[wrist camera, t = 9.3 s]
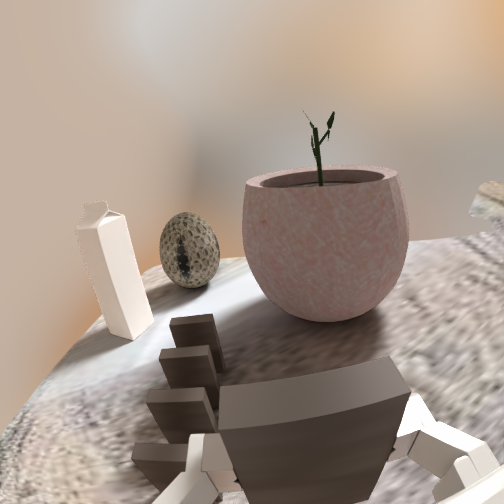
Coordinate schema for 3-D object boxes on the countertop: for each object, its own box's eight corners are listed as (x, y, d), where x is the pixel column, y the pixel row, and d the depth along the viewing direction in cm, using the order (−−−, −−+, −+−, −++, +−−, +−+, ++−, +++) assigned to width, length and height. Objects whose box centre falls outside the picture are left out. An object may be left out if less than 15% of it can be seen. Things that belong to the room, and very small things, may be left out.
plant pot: (228, 340, 42) (186, 119, 32) (283, 270, 62) (265, 119, 52) (401, 362, 32) (410, 91, 21) (402, 276, 52) (398, 109, 41)
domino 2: (223, 397, 32) (208, 344, 29) (223, 407, 30) (207, 354, 28) (182, 400, 32) (161, 349, 29) (180, 409, 30) (158, 358, 28)
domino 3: (223, 437, 26) (204, 387, 23) (222, 450, 25) (202, 400, 22) (176, 439, 26) (149, 389, 23) (174, 451, 25) (145, 402, 22)
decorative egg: (177, 275, 67) (162, 210, 62) (227, 270, 66) (215, 202, 61) (162, 301, 56) (142, 226, 51) (221, 296, 55) (206, 216, 50)
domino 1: (224, 364, 37) (212, 313, 35) (224, 372, 36) (211, 321, 33) (187, 367, 37) (171, 318, 35) (186, 375, 36) (169, 325, 33)
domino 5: (360, 473, 11) (389, 355, 8) (368, 499, 9) (411, 391, 6) (255, 493, 11) (219, 386, 8) (257, 520, 9) (218, 429, 6)
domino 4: (222, 486, 21) (198, 443, 18) (222, 500, 19) (197, 461, 16) (169, 486, 21) (135, 442, 18) (168, 499, 19) (130, 458, 16)
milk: (131, 316, 52) (97, 198, 44) (155, 322, 49) (121, 194, 42) (110, 334, 47) (69, 209, 39) (133, 341, 44) (90, 205, 37)
